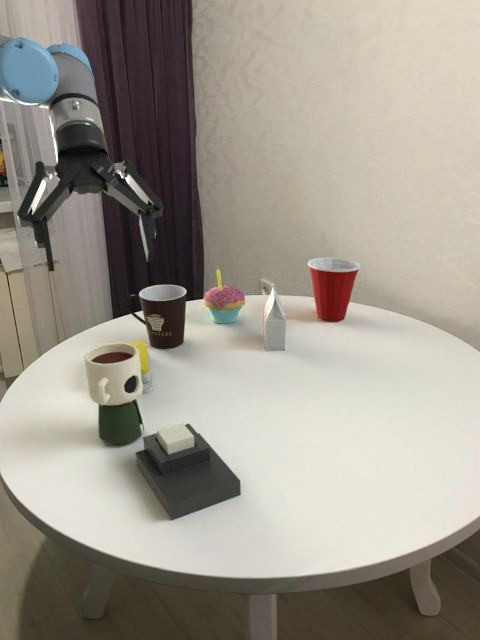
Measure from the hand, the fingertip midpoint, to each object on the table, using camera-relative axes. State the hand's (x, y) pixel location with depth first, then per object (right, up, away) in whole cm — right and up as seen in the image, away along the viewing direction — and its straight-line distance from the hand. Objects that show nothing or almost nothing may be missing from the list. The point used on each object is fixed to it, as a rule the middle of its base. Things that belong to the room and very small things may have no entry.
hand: (102, 261), depth 83 cm
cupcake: (+15, -6, +40) cm, 43 cm away
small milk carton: (+25, -11, +29) cm, 40 cm away
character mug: (+3, -25, +1) cm, 25 cm away
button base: (+13, -29, -8) cm, 33 cm away
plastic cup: (+37, -6, +41) cm, 55 cm away
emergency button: (-1, -17, +18) cm, 24 cm away
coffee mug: (+3, -11, +31) cm, 33 cm away
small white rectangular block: (+11, -24, -7) cm, 28 cm away
